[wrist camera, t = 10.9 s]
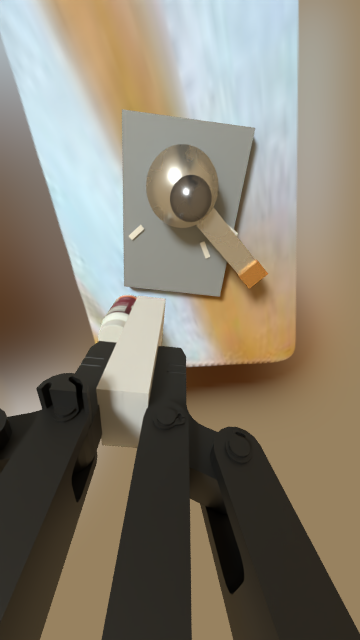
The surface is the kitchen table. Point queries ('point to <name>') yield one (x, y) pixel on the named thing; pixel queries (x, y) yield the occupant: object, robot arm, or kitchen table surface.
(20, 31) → the kitchen table surface
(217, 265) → the stand board
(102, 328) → the pill bottle
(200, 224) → the silver ladle
